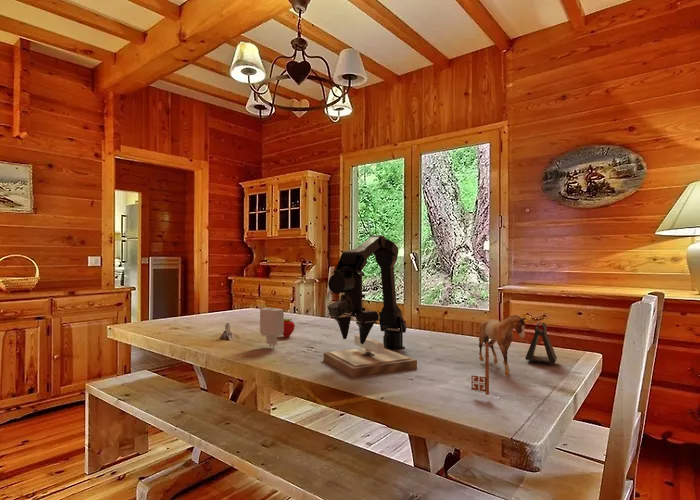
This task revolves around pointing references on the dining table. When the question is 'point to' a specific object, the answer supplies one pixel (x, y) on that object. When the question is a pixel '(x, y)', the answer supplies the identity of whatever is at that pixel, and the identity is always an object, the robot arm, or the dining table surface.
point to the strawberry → (288, 327)
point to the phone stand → (547, 344)
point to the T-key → (370, 345)
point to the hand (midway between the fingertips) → (353, 341)
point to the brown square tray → (369, 362)
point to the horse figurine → (501, 335)
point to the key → (477, 379)
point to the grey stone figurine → (228, 333)
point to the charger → (271, 324)
